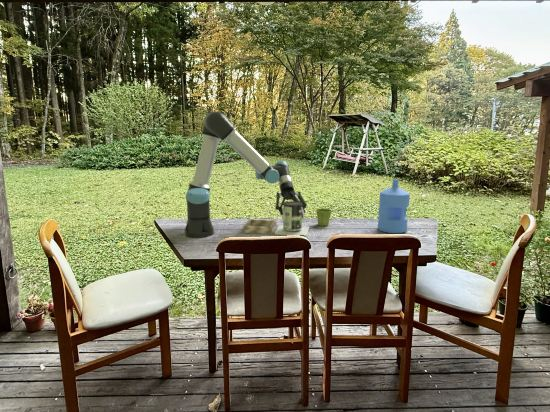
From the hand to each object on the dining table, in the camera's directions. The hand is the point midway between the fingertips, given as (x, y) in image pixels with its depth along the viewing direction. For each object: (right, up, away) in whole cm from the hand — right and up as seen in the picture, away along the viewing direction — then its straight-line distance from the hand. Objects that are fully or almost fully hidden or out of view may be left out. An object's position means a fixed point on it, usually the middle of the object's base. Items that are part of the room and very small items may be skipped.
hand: (294, 219), depth 206 cm
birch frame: (-18, -6, +7) cm, 21 cm away
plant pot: (+18, -4, +17) cm, 25 cm away
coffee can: (-1, -5, +4) cm, 7 cm away
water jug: (+54, -6, +7) cm, 55 cm away
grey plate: (-1, -7, +4) cm, 8 cm away
